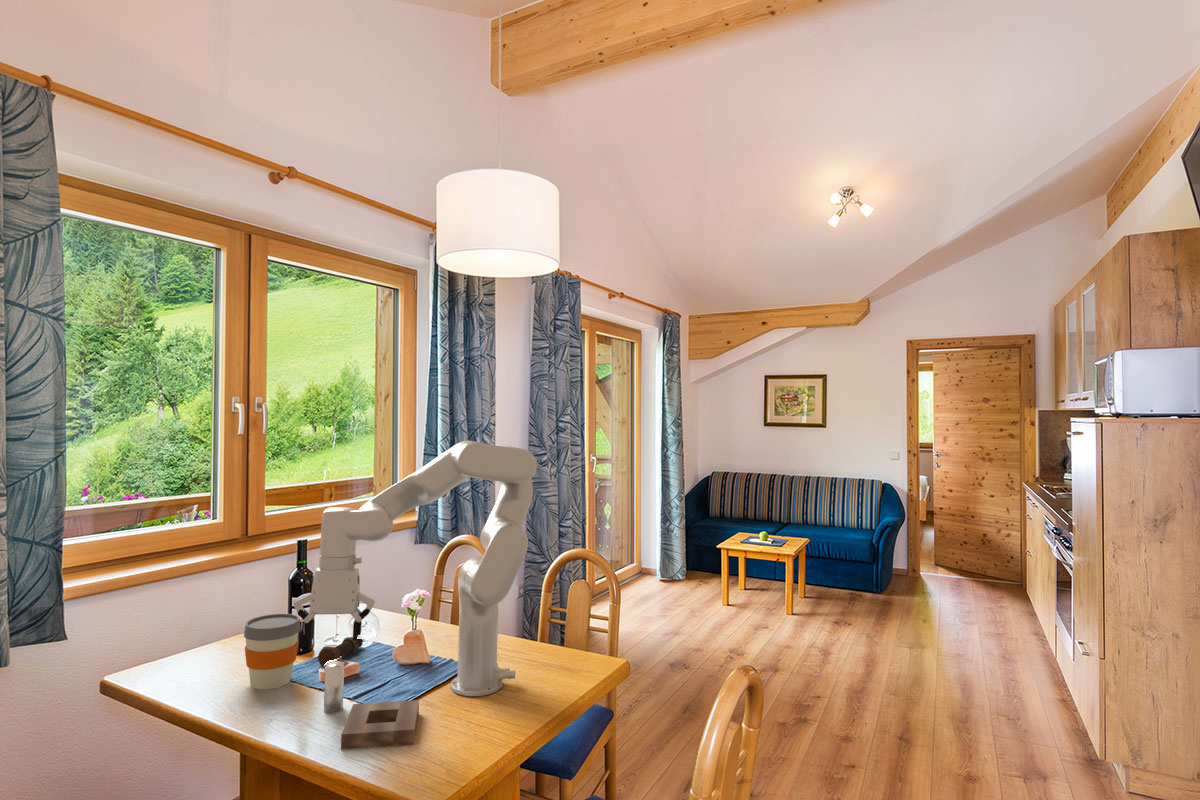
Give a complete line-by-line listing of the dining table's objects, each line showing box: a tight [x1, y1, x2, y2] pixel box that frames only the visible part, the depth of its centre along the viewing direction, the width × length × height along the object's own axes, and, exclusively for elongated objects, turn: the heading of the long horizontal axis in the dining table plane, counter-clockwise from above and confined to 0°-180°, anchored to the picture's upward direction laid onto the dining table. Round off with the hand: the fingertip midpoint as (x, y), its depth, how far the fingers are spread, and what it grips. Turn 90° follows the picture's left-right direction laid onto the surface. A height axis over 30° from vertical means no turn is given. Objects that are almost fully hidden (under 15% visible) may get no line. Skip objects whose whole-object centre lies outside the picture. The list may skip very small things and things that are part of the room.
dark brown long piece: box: [317, 636, 364, 667], centre depth 181 cm, size 6×5×15 cm
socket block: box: [340, 699, 420, 751], centre depth 139 cm, size 14×14×3 cm
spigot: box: [323, 660, 345, 714], centre depth 149 cm, size 4×4×10 cm
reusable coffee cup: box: [243, 613, 301, 691], centre depth 163 cm, size 13×13×15 cm
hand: (333, 638), depth 149 cm, fingers open, 9 cm apart
